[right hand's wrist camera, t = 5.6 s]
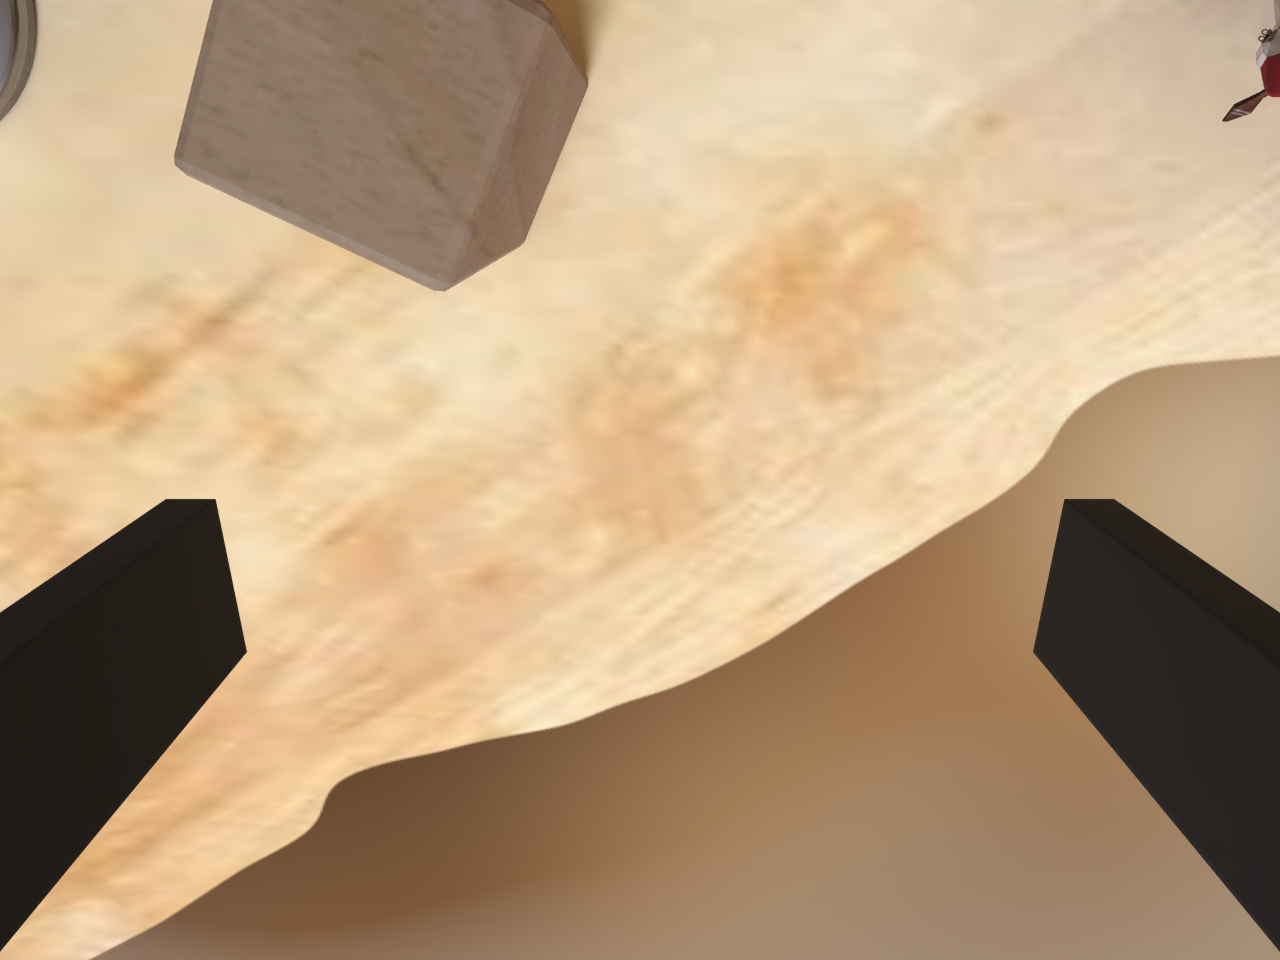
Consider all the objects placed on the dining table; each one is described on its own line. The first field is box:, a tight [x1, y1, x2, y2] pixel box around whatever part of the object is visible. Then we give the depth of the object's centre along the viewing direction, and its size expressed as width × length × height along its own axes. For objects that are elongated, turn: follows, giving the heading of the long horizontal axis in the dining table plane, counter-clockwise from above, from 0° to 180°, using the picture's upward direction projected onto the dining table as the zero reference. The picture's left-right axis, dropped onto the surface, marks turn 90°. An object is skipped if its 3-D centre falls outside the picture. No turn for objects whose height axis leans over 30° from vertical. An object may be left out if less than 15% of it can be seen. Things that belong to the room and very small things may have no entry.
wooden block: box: [174, 0, 588, 291], centre depth 35 cm, size 10×10×20 cm
